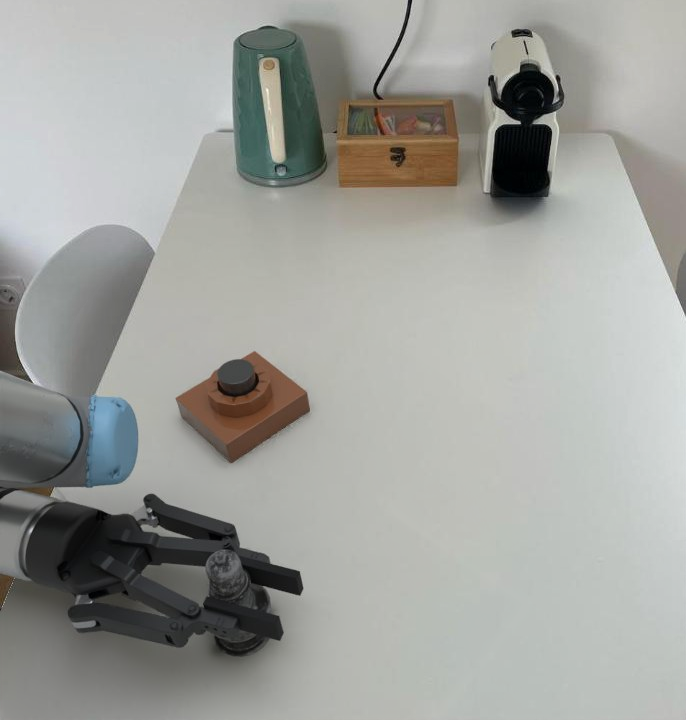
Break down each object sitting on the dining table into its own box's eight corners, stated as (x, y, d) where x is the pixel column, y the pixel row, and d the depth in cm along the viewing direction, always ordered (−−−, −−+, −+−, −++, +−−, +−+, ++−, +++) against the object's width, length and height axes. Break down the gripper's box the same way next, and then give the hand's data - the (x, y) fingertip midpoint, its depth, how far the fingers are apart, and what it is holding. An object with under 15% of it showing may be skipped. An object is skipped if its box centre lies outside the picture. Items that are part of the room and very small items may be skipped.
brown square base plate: (231, 463, 88) (222, 431, 84) (181, 416, 93) (171, 385, 90) (310, 410, 93) (305, 379, 90) (258, 368, 98) (251, 337, 95)
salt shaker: (197, 633, 73) (166, 556, 65) (246, 588, 76) (223, 510, 68) (240, 673, 70) (213, 598, 62) (289, 624, 73) (270, 547, 65)
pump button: (234, 402, 88) (230, 389, 86) (213, 384, 90) (209, 371, 89) (264, 384, 90) (261, 370, 88) (242, 367, 92) (239, 353, 91)
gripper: (112, 495, 81) (330, 549, 76) (6, 645, 70) (254, 722, 64) (90, 446, 76) (321, 500, 71) (-28, 598, 65) (238, 677, 59)
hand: (289, 605), depth 67 cm, fingers closed on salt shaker, 4 cm apart
